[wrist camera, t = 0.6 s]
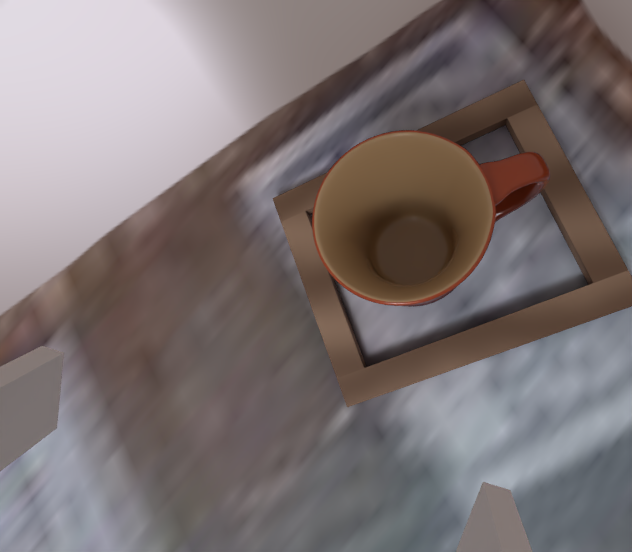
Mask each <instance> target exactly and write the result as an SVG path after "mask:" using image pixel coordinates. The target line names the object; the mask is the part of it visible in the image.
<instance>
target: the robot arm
mask: <svg viewBox="0 0 632 552" xmlns="http://www.w3.org/2000/svg"><path fill="white" fill-rule="evenodd" d="M63 358H64V353H63V352H60V351H57V350H53V349H50V348H47V347H44V346H41V347H39V348H37V349H35V350H33V351H31V352H29V353H27V354H25V355H23V356H21V357H19V358H17V359H15V360H13V361H11V362H9V363H7V364H5V365H3V366H1V367H0V471H1V470H3V469H4V468H5V467H7V466H8V465H9V464H10V463H12V462H13V461H14V460H16V459H17V458H18V457H20V456H21V455H22V454H24V453H25V452H26V451H28V450H29V449H30V448H31V447H33V446H34V445H35V444H37V443H38V442H39V441H41V440H42V439H43V438H45V437H46V436H47V435H48V434H50V433H51V432H52V431H54V430H55V429H56V428H57V421H58V411H59V400H60V390H61V379H62V368H63ZM456 552H532V549H531V547H530V544H529V541H528V538H527V536H526V533H525V530H524V527H523V524H522V522H521V519H520V516H519V513H518V510H517V508H516V505H515V502H514V499H513V497H512V494H511V491H510V490H508V489H504V488H501V487H498V486H495V485H491V484H488V483H485V482H483V483H482V486H481V488H480V491H479V493H478V496H477V499H476V501H475V504H474V506H473V509H472V511H471V514H470V517H469V519H468V522H467V524H466V527H465V529H464V532H463V535H462V537H461V540H460V542H459V545H458V548H457V550H456Z"/></svg>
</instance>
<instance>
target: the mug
mask: <svg viewBox="0 0 632 552" xmlns="http://www.w3.org/2000/svg"><path fill="white" fill-rule="evenodd" d="M550 177H551V174H550V170H549V168H548V165H547V163H546V162H545V160H544V158H543V157H542V156H541V155H540V154H538V153H536V152H524V153H520V154H517V155H514V156H511V157H509V158H506V159H503V160H499V161H494V162H486V163H482V164H478V162H477V161H476V160H475V158H474V157H473V156H472V155H471V154H470V153H469V152H468V151H467V150H466V149H465V148H463V147H462V146H460V145H458V144H457V143H455V142H453V141H451V140H449V139H446V138H444V137H441V136H439V135H436V134H432V133H428V132H423V131H414V130H401V131H392V132H388V133H383V134H380V135H377V136H374V137H371V138H369V139H367V140H365V141H363V142H361V143H359V144H357V145H356V146H354V147H353V148H351V149H350V150H349V151H347V152H346V153H345V154H344V155H343V156H342V157H340V158H339V159H338V161H337V162H336V163H335V164H334V165H333V166H332V167H331V169H330V170H329V171H328V173H327V174H326V176H325V178H324V179H323V181H322V183H321V185H320V187H319V190H318V192H317V195H316V199H315V202H314V207H313V214H312V230H313V237H314V242H315V246H316V249H317V252H318V254H319V257H320V259H321V261H322V262H323V264H324V266H325V267H326V269H327V270H328V272H329V273H330V274H331V275H332V277H333V278H334V279H335V280H336V281H337V282H338V283H339V284H340V285H342V286H343V287H344V288H346V289H347V290H348V291H350V292H352V293H353V294H355V295H357V296H359V297H361V298H363V299H366V300H368V301H371V302H375V303H379V304H385V305H394V306H409V307H410V306H422V305H427V304H430V303H433V302H436V301H438V300H440V299H442V298H444V297H445V296H446V295H448V294H449V293H450V292H452V291H453V290H454V289H455V288H456V287H457V286H458V285H459V284H460V283H462V282H463V281H464V280H465V279H466V278H467V277H468V276H469V275H470V274H471V273H472V272H473V270H474V269H475V268H476V267H477V265H478V264H479V262H480V261H481V259H482V258H483V256H484V254H485V252H486V250H487V248H488V245H489V243H490V240H491V237H492V233H493V229H494V225H495V222H497V221H498V220H499V219H501V218H502V217H504V216H506V215H508V214H509V213H511V212H513V211H515V210H517V209H518V208H520V207H522V206H523V205H525V204H526V203H528V202H529V201H531V200H532V199H533V198H535V197H536V196H537V195H538V194H539V193H540V192H541V191H542V190H543V189H544V188H545V187H546V185H547V184H548V182H549V181H550Z"/></svg>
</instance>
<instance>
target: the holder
mask: <svg viewBox="0 0 632 552" xmlns="http://www.w3.org/2000/svg"><path fill="white" fill-rule="evenodd" d="M504 125H506V127H507V129H508V131H509V132H510V134H511V136H512V138H513V140H514V142H515V144H516V146H517V148H518V150H519V152H520V153H524V152H536V153H538V154H540V155H541V156H542V157H543V158H544V160H545V162H546V163H547V165H548V168H549V170H550V174H551V177H550V181H549V182H548V184H547V185H546V187H545V188H544V189H543V190H542V191H541V194H542V196H543V198H544V200H545V202H546V204H547V206H548V208H549V209H550V211H551V213H552V215H553V217H554V219H555V221H556V223H557V225H558V227H559V229H560V231H561V233H562V234H563V236H564V238H565V240H566V242H567V244H568V246H569V248H570V250H571V252H572V254H573V256H574V258H575V259H576V261H577V263H578V265H579V267H580V269H581V271H582V273H583V275H584V277H585V279H586V281H587V283H588V285H587V286H584V287H582V288H579V289H576V290H574V291H571V292H568V293H566V294H563V295H560V296H557V297H555V298H552V299H549V300H547V301H544V302H541V303H539V304H536V305H533V306H531V307H528V308H525V309H522V310H520V311H517V312H514V313H512V314H509V315H506V316H504V317H501V318H498V319H495V320H493V321H490V322H487V323H485V324H482V325H479V326H477V327H474V328H471V329H469V330H466V331H463V332H460V333H458V334H455V335H452V336H450V337H447V338H444V339H442V340H439V341H436V342H433V343H431V344H428V345H425V346H423V347H420V348H417V349H415V350H412V351H409V352H407V353H404V354H401V355H398V356H396V357H393V358H390V359H388V360H385V361H382V362H380V363H377V364H374V365H371V366H369V367H366V364H365V362H364V359H363V356H362V354H361V351H360V348H359V346H358V343H357V340H356V338H355V335H354V332H353V330H352V327H351V324H350V322H349V319H348V316H347V314H346V311H345V308H344V306H343V303H342V300H341V298H340V295H339V292H338V290H337V287H336V284H335V282H334V279H333V277H332V275H331V274H330V273H329V272H328V270H327V269H326V267H325V266H324V264H323V262H322V261H321V259H320V257H319V254H318V252H317V249H316V246H315V242H314V237H313V230H312V220H311V218H310V215H309V214H312V213H313V207H314V202H315V199H316V195H317V192H318V190H319V187H320V185H321V183H322V181H323V179H324V178H325V176H326V174H327V173H328V172H327V173H325V174H323V175H321V176H319V177H317V178H315V179H313V180H311V181H308V182H306V183H304V184H302V185H300V186H298V187H296V188H294V189H292V190H289V191H287V192H285V193H283V194H281V195H279V196H277V197H275V198H273V201H274V203H275V206H276V209H277V212H278V215H279V217H280V220H281V223H282V226H283V229H284V231H285V234H286V237H287V240H288V243H289V245H290V248H291V251H292V254H293V257H294V259H295V262H296V265H297V268H298V271H299V273H300V276H301V279H302V282H303V285H304V287H305V290H306V293H307V296H308V299H309V301H310V304H311V307H312V310H313V313H314V315H315V318H316V321H317V324H318V327H319V329H320V332H321V335H322V338H323V341H324V343H325V346H326V349H327V352H328V355H329V357H330V360H331V363H332V366H333V369H334V371H335V374H336V377H337V380H338V383H339V385H340V388H341V391H342V394H343V397H344V399H345V402H346V405H347V407H349V406H352V405H355V404H358V403H361V402H363V401H366V400H369V399H372V398H375V397H377V396H380V395H383V394H386V393H389V392H392V391H394V390H397V389H400V388H403V387H406V386H408V385H411V384H414V383H417V382H420V381H423V380H425V379H428V378H431V377H434V376H437V375H439V374H442V373H445V372H448V371H451V370H453V369H456V368H459V367H462V366H465V365H468V364H470V363H473V362H476V361H479V360H482V359H484V358H487V357H490V356H493V355H496V354H499V353H501V352H504V351H507V350H510V349H513V348H515V347H518V346H521V345H524V344H527V343H530V342H532V341H535V340H538V339H541V338H544V337H546V336H549V335H552V334H555V333H558V332H560V331H563V330H566V329H569V328H572V327H575V326H577V325H580V324H583V323H586V322H589V321H591V320H594V319H597V318H600V317H603V316H606V315H608V314H611V313H614V312H617V311H620V310H622V309H625V308H628V307H631V306H632V276H631V275H630V273H629V271H628V269H627V267H626V265H625V264H624V262H623V260H622V258H621V256H620V254H619V253H618V251H617V249H616V247H615V245H614V243H613V242H612V240H611V238H610V236H609V234H608V233H607V231H606V229H605V227H604V225H603V223H602V222H601V220H600V218H599V216H598V214H597V212H596V211H595V209H594V207H593V205H592V203H591V201H590V200H589V198H588V196H587V194H586V192H585V190H584V189H583V187H582V185H581V183H580V181H579V179H578V178H577V176H576V174H575V172H574V170H573V169H572V167H571V165H570V163H569V161H568V159H567V158H566V156H565V154H564V152H563V150H562V148H561V147H560V145H559V143H558V141H557V139H556V137H555V136H554V134H553V132H552V130H551V128H550V126H549V125H548V123H547V121H546V119H545V117H544V115H543V114H542V112H541V110H540V108H539V106H538V104H537V103H536V101H535V99H534V97H533V95H532V94H531V92H530V90H529V88H528V86H527V84H526V83H525V81H524V80H522V81H520V82H518V83H516V84H514V85H512V86H509V87H507V88H505V89H503V90H501V91H499V92H497V93H495V94H492V95H490V96H488V97H486V98H484V99H482V100H480V101H478V102H476V103H473V104H471V105H469V106H467V107H465V108H463V109H461V110H459V111H457V112H454V113H452V114H450V115H448V116H446V117H444V118H442V119H440V120H437V121H435V122H433V123H431V124H429V125H427V126H425V127H423V128H421V129H418V130H416V131H423V132H428V133H432V134H436V135H439V136H441V137H444V138H446V139H449V140H451V141H453V142H455V143H457V144H458V145H460V146H461V145H463V144H465V143H467V142H469V141H472V140H474V139H476V138H478V137H480V136H483V135H485V134H487V133H489V132H491V131H494V130H496V129H498V128H500V127H502V126H504Z"/></svg>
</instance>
